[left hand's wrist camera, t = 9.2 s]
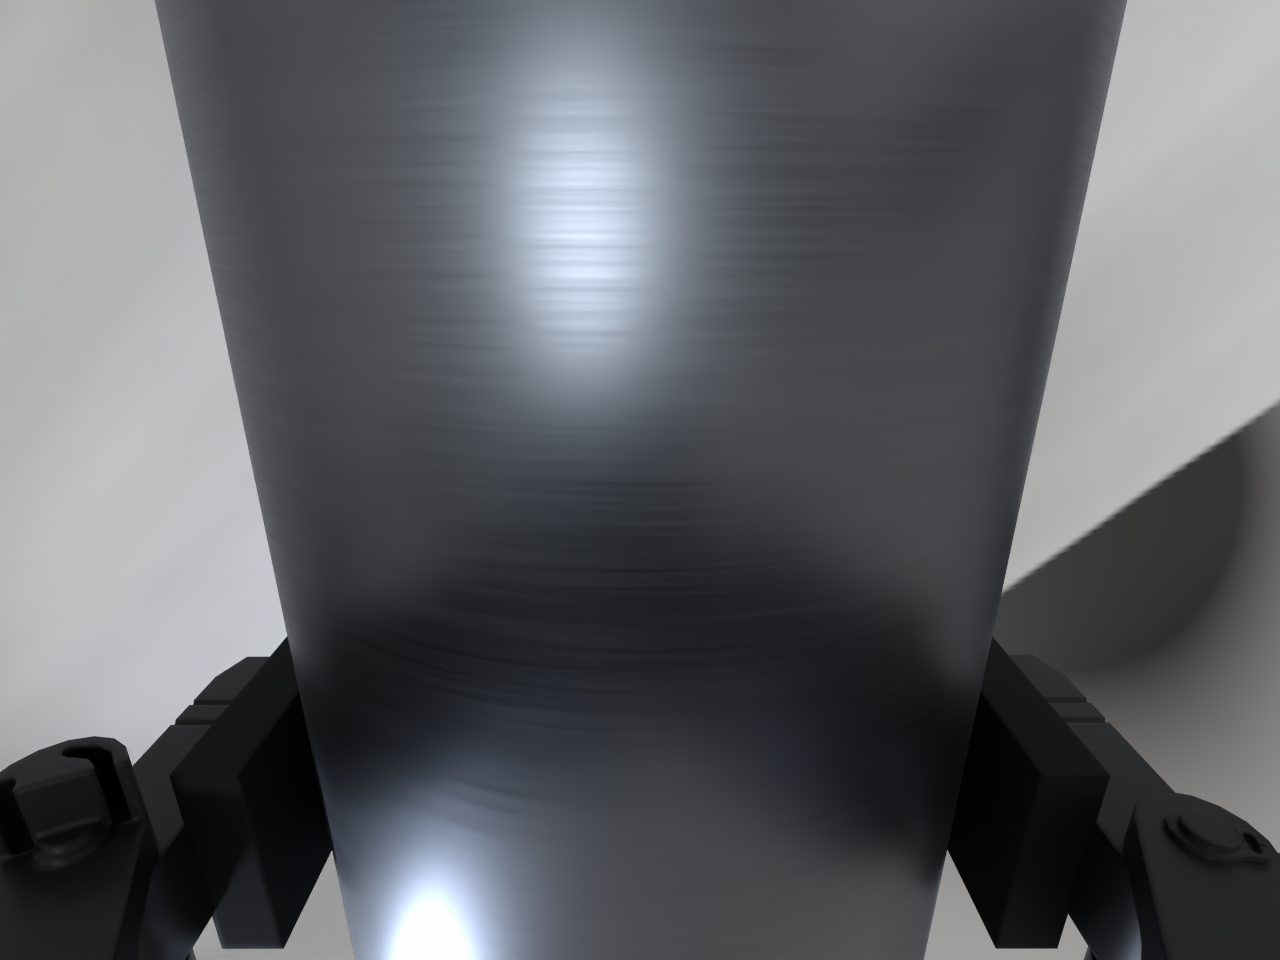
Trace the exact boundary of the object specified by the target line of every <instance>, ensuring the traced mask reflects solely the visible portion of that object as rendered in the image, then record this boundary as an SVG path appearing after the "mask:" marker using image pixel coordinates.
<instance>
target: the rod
mask: <svg viewBox="0 0 1280 960" xmlns="http://www.w3.org/2000/svg"><path fill="white" fill-rule="evenodd" d="M155 3H156V8H157V13H158V18H159V23H160V27H161V32H162V37H163V42H164V47H165V51H166V56H167V61H168V66H169V70H170V75H171V80H172V85H173V90H174V94H175V99H176V104H177V109H178V114H179V118H180V123H181V128H182V133H183V138H184V142H185V147H186V152H187V157H188V161H189V166H190V171H191V176H192V181H193V185H194V190H195V195H196V200H197V205H198V209H199V214H200V219H201V224H202V229H203V233H204V238H205V243H206V248H207V252H208V257H209V262H210V267H211V272H212V276H213V281H214V286H215V291H216V296H217V300H218V305H219V310H220V315H221V320H222V324H223V329H224V334H225V339H226V343H227V348H228V353H229V358H230V363H231V367H232V372H233V377H234V382H235V387H236V391H237V396H238V401H239V406H240V411H241V415H242V420H243V425H244V430H245V434H246V439H247V444H248V449H249V454H250V458H251V463H252V468H253V473H254V478H255V482H256V487H257V492H258V497H259V502H260V506H261V511H262V516H263V521H264V525H265V530H266V535H267V540H268V545H269V549H270V554H271V559H272V564H273V569H274V573H275V578H276V583H277V588H278V593H279V597H280V602H281V607H282V612H283V616H284V621H285V626H286V631H287V636H288V640H289V645H290V650H291V655H292V660H293V664H294V669H295V674H296V679H297V684H298V688H299V693H300V698H301V703H302V707H303V712H304V717H305V722H306V727H307V731H308V736H309V741H310V746H311V751H312V755H313V760H314V765H315V770H316V775H317V779H318V784H319V789H320V794H321V798H322V803H323V808H324V813H325V818H326V822H327V827H328V832H329V837H330V842H331V846H332V851H333V856H334V861H335V866H336V870H337V875H338V880H339V885H340V889H341V894H342V899H343V904H344V909H345V913H346V918H347V923H348V928H349V933H350V937H351V942H352V947H353V952H354V957H355V960H924V956H925V951H926V946H927V942H928V937H929V932H930V928H931V923H932V918H933V913H934V909H935V904H936V899H937V894H938V890H939V885H940V880H941V876H942V871H943V866H944V861H945V857H946V852H947V847H948V843H949V838H950V833H951V828H952V824H953V819H954V814H955V810H956V805H957V800H958V795H959V791H960V786H961V781H962V777H963V772H964V767H965V762H966V758H967V753H968V748H969V743H970V739H971V734H972V729H973V725H974V720H975V715H976V710H977V706H978V701H979V696H980V692H981V687H982V682H983V677H984V673H985V668H986V663H987V659H988V654H989V649H990V644H991V640H992V635H993V630H994V626H995V621H996V616H997V611H998V607H999V602H1000V597H1001V592H1002V588H1003V583H1004V578H1005V574H1006V569H1007V564H1008V559H1009V555H1010V550H1011V545H1012V541H1013V536H1014V531H1015V526H1016V522H1017V517H1018V512H1019V508H1020V503H1021V498H1022V493H1023V489H1024V484H1025V479H1026V475H1027V470H1028V465H1029V460H1030V456H1031V451H1032V446H1033V441H1034V437H1035V432H1036V427H1037V423H1038V418H1039V413H1040V408H1041V404H1042V399H1043V394H1044V390H1045V385H1046V380H1047V375H1048V371H1049V366H1050V361H1051V357H1052V352H1053V347H1054V342H1055V338H1056V333H1057V328H1058V324H1059V319H1060V314H1061V309H1062V305H1063V300H1064V295H1065V291H1066V286H1067V281H1068V276H1069V272H1070V267H1071V262H1072V257H1073V253H1074V248H1075V243H1076V239H1077V234H1078V229H1079V224H1080V220H1081V215H1082V210H1083V206H1084V201H1085V196H1086V191H1087V187H1088V182H1089V177H1090V173H1091V168H1092V163H1093V158H1094V154H1095V149H1096V144H1097V140H1098V135H1099V130H1100V125H1101V121H1102V116H1103V111H1104V106H1105V102H1106V97H1107V92H1108V88H1109V83H1110V78H1111V73H1112V69H1113V64H1114V59H1115V55H1116V50H1117V45H1118V40H1119V36H1120V31H1121V26H1122V22H1123V17H1124V12H1125V7H1126V3H1127V0H155Z"/></svg>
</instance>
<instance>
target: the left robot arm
mask: <svg viewBox="0 0 1280 960" xmlns="http://www.w3.org/2000/svg"><path fill="white" fill-rule="evenodd" d="M947 850H948V851H949V854H950V856H951V858H952V860H953V862H954V864H955V866H956V868H957V870H958V872H959V874H960V876H961V878H962V880H963V882H964V884H965V886H966V888H967V890H968V892H969V894H970V896H971V898H972V901H973V903H974V905H975V907H976V909H977V911H978V913H979V915H980V917H981V919H982V921H983V923H984V925H985V927H986V929H987V931H988V933H989V935H990V937H991V939H992V941H993V943H994V945H995V948H1058V944H1059V941H1060V938H1061V935H1062V931H1063V928H1064V925H1065V922H1066V918H1067V915H1068V914H1069V915H1070V917H1071V919H1072V920H1073V922H1074V923H1075V925H1076V927H1077V928H1078V930H1079V932H1080V933H1081V935H1082V936H1083V938H1084V940H1085V941H1086V943H1087V945H1088V948H1087V951H1086V954H1085V957H1084V960H1280V853H1277V852H1276V850H1275V849H1274V847H1273V846H1272V845H1271V843H1270V842H1269V841H1268V840H1267V839H1266V838H1265V837H1264V836H1263V835H1261V834H1260V833H1259V832H1258V831H1257V830H1255V829H1254V828H1253V827H1252V826H1251V825H1250V824H1248V823H1247V822H1246V821H1244V820H1242V819H1241V818H1239V817H1237V816H1236V815H1234V814H1232V813H1230V812H1229V811H1227V810H1225V809H1223V808H1222V807H1220V806H1218V805H1215V804H1212V803H1210V802H1207V801H1204V800H1202V799H1199V798H1197V797H1194V796H1191V795H1185V794H1179V793H1175V792H1174V791H1173V790H1172V789H1171V788H1170V787H1169V786H1168V785H1167V784H1166V782H1165V781H1164V780H1163V779H1162V778H1161V777H1160V776H1159V775H1158V774H1157V773H1156V772H1155V771H1154V770H1153V769H1152V768H1151V766H1150V765H1149V764H1148V763H1147V762H1146V761H1145V760H1144V759H1143V758H1142V757H1141V756H1140V755H1139V754H1138V753H1137V752H1136V751H1135V749H1134V748H1133V747H1132V746H1131V745H1130V744H1129V743H1128V742H1127V741H1126V740H1125V739H1124V738H1123V737H1122V736H1121V734H1120V733H1119V732H1118V731H1117V730H1116V729H1115V728H1114V727H1113V726H1112V725H1111V724H1110V723H1106V722H1105V718H1104V716H1103V715H1102V714H1101V713H1100V712H1099V711H1098V710H1097V709H1096V708H1095V707H1094V706H1093V705H1092V704H1091V703H1087V701H1086V697H1085V696H1084V695H1083V694H1082V693H1081V692H1080V691H1079V690H1078V689H1077V688H1076V687H1075V685H1074V684H1073V683H1072V682H1071V681H1070V680H1069V679H1068V678H1067V677H1066V676H1065V675H1064V674H1063V673H1061V672H1059V671H1058V670H1056V669H1055V668H1053V667H1051V666H1050V665H1048V664H1047V663H1045V662H1044V661H1042V660H1040V659H1039V658H1037V657H1036V656H1034V655H1008V654H1007V653H1006V652H1005V651H1004V650H1003V648H1002V647H1001V646H1000V645H999V644H998V643H997V641H996V640H995V639H994V638H993V637H992V640H991V644H990V649H989V654H988V659H987V663H986V668H985V673H984V677H983V682H982V687H981V692H980V696H979V701H978V706H977V710H976V715H975V720H974V725H973V729H972V734H971V739H970V743H969V748H968V753H967V758H966V762H965V767H964V772H963V777H962V781H961V786H960V791H959V795H958V800H957V805H956V810H955V814H954V819H953V824H952V828H951V833H950V838H949V843H948V847H947ZM331 851H332V846H331V842H330V837H329V832H328V827H327V822H326V818H325V813H324V808H323V803H322V798H321V794H320V789H319V784H318V779H317V775H316V770H315V765H314V760H313V755H312V751H311V746H310V741H309V736H308V731H307V727H306V722H305V717H304V712H303V707H302V703H301V698H300V693H299V688H298V684H297V679H296V674H295V669H294V664H293V660H292V655H291V650H290V645H289V640H288V636H287V637H286V638H285V640H284V641H283V642H282V643H281V644H280V646H279V647H278V648H277V649H276V650H275V651H274V653H273V654H272V655H271V656H270V657H246V658H245V659H243V660H242V661H240V662H238V663H237V664H235V665H234V666H232V667H231V668H229V669H227V670H226V671H224V672H223V673H221V674H220V675H218V676H216V677H215V678H214V679H213V680H212V681H211V683H210V684H209V685H208V686H207V687H206V688H205V689H204V690H203V691H202V692H201V693H200V694H199V695H198V697H197V698H196V699H195V700H194V704H193V705H189V706H188V707H187V708H186V709H185V710H184V712H183V713H182V714H181V715H180V716H179V717H178V718H177V719H176V722H175V725H170V727H169V728H168V729H167V730H166V731H165V732H164V733H163V734H162V735H161V736H160V737H159V738H158V739H157V740H156V742H155V743H154V744H153V745H152V746H151V747H150V748H149V749H148V750H147V751H146V752H145V753H144V754H143V756H142V757H141V758H140V759H139V760H138V761H137V762H136V763H135V764H134V765H133V766H132V764H131V761H130V758H129V755H128V752H127V749H126V746H124V745H123V744H121V743H120V742H119V741H117V740H116V739H114V738H105V737H96V736H93V737H87V738H80V739H74V740H68V741H65V742H62V743H59V744H56V745H53V746H50V747H47V748H44V749H41V750H38V751H36V752H35V753H33V754H31V755H29V756H27V757H25V758H23V759H21V760H19V761H17V762H15V763H13V764H11V765H9V766H8V767H7V768H5V769H4V770H3V771H1V772H0V960H196V957H195V954H194V951H193V946H194V944H195V943H196V941H197V939H198V938H199V936H200V935H201V933H202V931H203V930H204V928H205V926H206V925H207V923H208V922H209V920H210V918H211V917H213V920H214V923H215V927H216V930H217V933H218V936H219V940H220V943H221V946H222V949H284V947H285V945H286V943H287V941H288V938H289V936H290V934H291V932H292V930H293V928H294V926H295V924H296V922H297V920H298V918H299V916H300V914H301V912H302V910H303V908H304V906H305V904H306V902H307V900H308V898H309V896H310V894H311V892H312V890H313V887H314V885H315V883H316V881H317V879H318V877H319V875H320V873H321V871H322V869H323V867H324V865H325V863H326V861H327V859H328V857H329V855H330V853H331Z"/></svg>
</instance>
